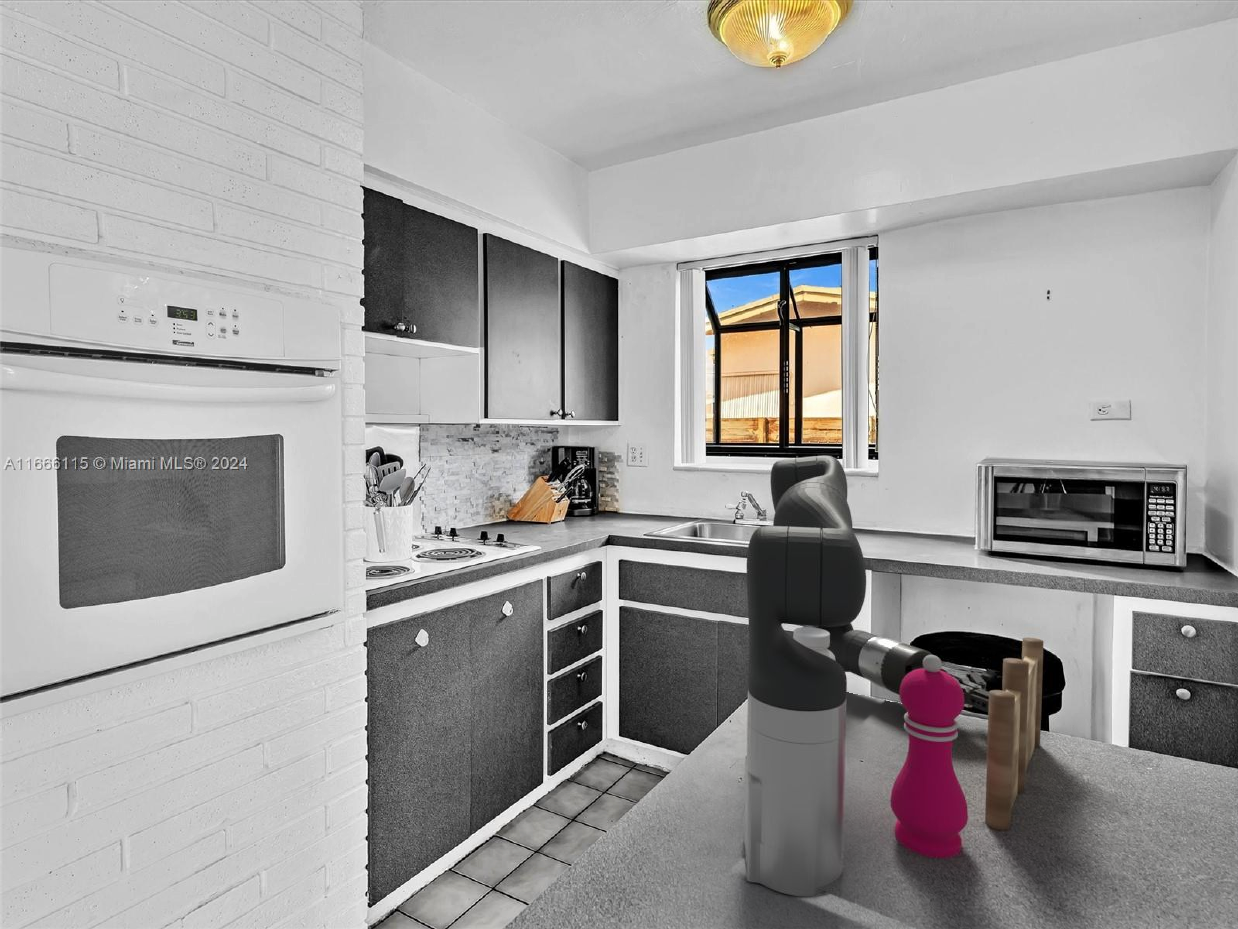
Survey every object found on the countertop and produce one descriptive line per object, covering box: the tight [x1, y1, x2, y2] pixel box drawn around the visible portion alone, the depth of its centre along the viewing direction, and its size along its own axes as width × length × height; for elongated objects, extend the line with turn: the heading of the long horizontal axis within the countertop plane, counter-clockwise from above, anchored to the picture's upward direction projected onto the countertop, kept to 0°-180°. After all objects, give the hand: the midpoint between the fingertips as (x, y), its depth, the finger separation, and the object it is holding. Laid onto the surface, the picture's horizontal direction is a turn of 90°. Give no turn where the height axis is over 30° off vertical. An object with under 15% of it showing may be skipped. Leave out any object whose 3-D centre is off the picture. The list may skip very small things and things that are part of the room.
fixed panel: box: [984, 657, 1029, 832], centre depth 79 cm, size 12×3×15 cm, turn 143°
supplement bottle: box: [792, 626, 835, 660], centre depth 106 cm, size 7×7×13 cm
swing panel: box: [1021, 637, 1044, 773], centre depth 90 cm, size 14×2×14 cm, turn 143°
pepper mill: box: [890, 654, 969, 859], centre depth 72 cm, size 7×7×20 cm
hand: (1001, 707), depth 92 cm, fingers closed
